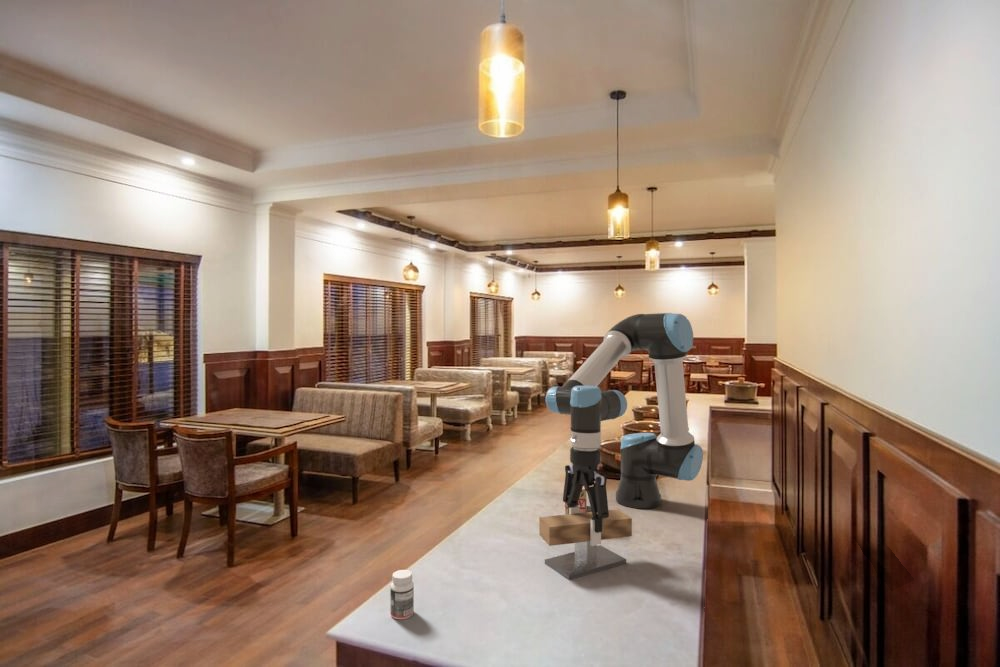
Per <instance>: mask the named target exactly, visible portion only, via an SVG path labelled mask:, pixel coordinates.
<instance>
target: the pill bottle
mask: <svg viewBox="0 0 1000 667" xmlns="http://www.w3.org/2000/svg"><path fill="white" fill-rule="evenodd" d="M391 580H392V582H391V584H390V592H389V593H390V595H389V596H390V616H391V617H392V619H395V620H406V619H409V618H410V617H412V616H413V614H414V611H415V610H414V608H415V606H414V605H415V604H414V602H415V600H414V598H415V597H414V596H415V595H414V592H415V591H414V588H415V587H414V585H415V584H414V581H413V572H412V571H410V570H408V569H398V570H396V571H394V572H393V573H392V578H391Z"/></svg>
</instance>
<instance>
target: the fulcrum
mask: <svg viewBox="0 0 1000 667" xmlns="http://www.w3.org/2000/svg"><path fill="white" fill-rule="evenodd" d="M544 564H545V565H546V566H548V567H549V568H550V569H552V570H554V571H555V572H556V573H558V574H559V575H561V576H563V577H564V578H566V579H567V580H568V581H569V580H573V579H577V578H580V577H584V576H587V575H590V574H594V573H597V572H600V571H601V572H602V571H605V570H608V569H611V568H615V567H617V566H621V565H625V564H627V559H626V558H625V557H623V556H621V555H620V554H618V553H617V552H614V551H612V550H610V549H608V548H607V547H605V546H603V545H601V544H598V545H594V546H591V545H590V541H588V542H579V543H574V551H573V552H569V553H564V554H561V555H557V556H553V557H549V558H545V559H544Z"/></svg>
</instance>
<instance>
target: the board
mask: <svg viewBox="0 0 1000 667" xmlns="http://www.w3.org/2000/svg"><path fill="white" fill-rule="evenodd" d="M608 511H609V517H608V518H603V519H602V532H601V541H604V540H612V539H621V538H628V537H629V538H630V537H632V536H633V523H632V522H633V518H632V517H631V516H629V515H627V514H626V513H625V512H623V511H621V510H620V509H619V508H617V509H608ZM597 514H598V513H597ZM592 517H593V515H592V511H588V512H587V511H586V513H576V514H567V515H565V514H559V515H550V516H548V515H547V516H539V518H538V520H539V526H538V527H539V536H540V538H541V539H542V540H544V542H545V543H546V544H547V545H548V546H549V547H551V546H552V547H553V546H561V545H562V546H563V545H569V544H575V543H579V542H588V541H590V525H591V518H592Z"/></svg>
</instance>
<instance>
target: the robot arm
mask: <svg viewBox="0 0 1000 667" xmlns="http://www.w3.org/2000/svg"><path fill="white" fill-rule="evenodd" d="M689 320H690V319H688V317H687V316H686V315H684V314H681V313H672V312H664V313H663V312H662V313H659V312H658V313H637V314H632V315H630V316H628V317H626V318H624V319H622V320H621V321H619V322H617V323H616V324H615V325H614V326H612V327H611V328H610V329H609V330H608V331H607V332H606V333H605V334H604V336H603V341H602V342H601V343H600V345H599V346H597V347H596V349H595V350H594V351H593V352H592V353H591V355H589V356H588V357H587V359H586V360H585V361H584V362H583V363H582V365H580V366H579V368H578V369H577V370H576V371H575V372H574V373H573V374H572V375H571V376H570V378H568V379H567V381H566V382H565V383H564V384H563V385H562V386H559V385H557V386H552V387H550V388H549V389H548V390H547V392H546V395H545V405H546V408H547V409H548V410H549V412H552V413H555V414H560V415H568V416H570V444H569V445H570V446H571V447H570V450H569V451H570V452H569V460H570V463H571V464H568V465H565V466H564V471H565V476H564V477H565V479H564V487H563V493H562V494H563V495H562V502H563V503H565V502H566V503H567V506H568V514H576V513H579V507H578V506H576V505H579V503H578V500H579V497H580V494H581V490H582V487H583V486H584V488H585V491H586V495H587V498H588V502H589V507H590V509H591V511H590V512H592V515H593V517H592V518H591V525H590V545H591V546H594V545H597V546H599V545H601V544H602V540H601V532H602V519H603V518H608V517H609V511H608V510H609V504H608V503H609V501H608V493H607V479H608V478H607V476H606V475H601V474H600V473H599V470H598V466H599V465H600V464H601V449H600V448H601V444H602V437H601V435H602V432H601V426H602V424H601V423H602V422H603V421H610V420H615V419H617V418H619V417H622V416H624V414H625V413H626V411H627V410H628V400H627V398H626V396H625V395H624V393H622V392H621V391H619V390H616V389H608V390H601V388H600V387H599V385H600V383H602V382H603V380H604V379H605V378H606V376H608V374H609V373H610V372H611V371H612V370H613V368H614V367H615V366H616V365H617V363H618V362H619V361H620V360H621V359H622V358H624V357H627V356H628V355H629V354H630V353H631V352H634V351H647V352H648V359H649V360H650V361H652V362H653V363H654V373H655V374H654V375H655V384H656V397H657V407H658V415H659V416H658V417H659V427H660V428H659V429H660V433H659V435H656V433H653V432H637V433H636V432H633V433H628V434H625V435H623V436H622V437H621V441H620V448H619V449H620V480H619V482H618V487H617V490H616V491H615V501H616V502H617V503H618V504H620V505H621V506H625V507H627V508H628V507H629V508H634V509H653V508H658V507H660V506H661V505H662V495H661V494H660V488H659V486H658V483H657V476H660V477H665V478H670V479H674V480H679V481H686V482H690V481H693V480H695V479H696V478H697V476H698V475H699V472H700V471H701V469H702V468H701V467H702V464H703V459H704V451H703V450H704V449H703V448H702V446H701V445H699V444H696V440H695V437H694V435H693V434H692V433H690V430H689V421H688V420H689V418H688V408H687V398H686V395H687V394H686V384H685V375H684V374H685V372H684V360H685V359H686V358H687V356H688V352H689V351H690V350H691V349H692V348H693V345H694V342H693V341H694V332H693V327H692V324H691V322H690V321H689ZM567 496H569V497H567ZM597 513H598V514H597Z"/></svg>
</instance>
